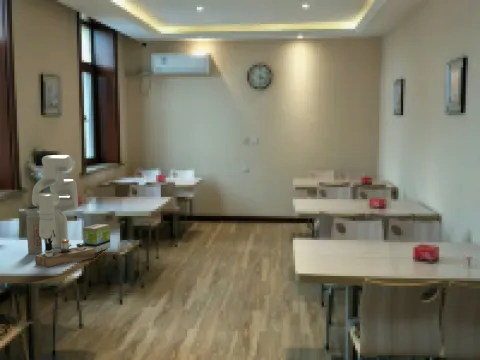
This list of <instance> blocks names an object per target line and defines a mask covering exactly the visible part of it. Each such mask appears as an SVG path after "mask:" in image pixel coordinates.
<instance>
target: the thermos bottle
mask: <svg viewBox="0 0 480 360" xmlns="http://www.w3.org/2000/svg"><path fill="white" fill-rule="evenodd" d="M26 215H27V216H26V217H25V218H26V219H25V220H26V222H25V223H26V236H27V253H28V255H40V254H43V238H42V237H40V236H39V222H40V211H38V206H34V205H33V206H28V211H27V213H26ZM39 253H40V254H39Z"/></svg>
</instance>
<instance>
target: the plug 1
mask: <svg viewBox="0 0 480 360" xmlns="http://www.w3.org/2000/svg"><path fill="white" fill-rule="evenodd" d="M43 252H44V254H45V257H50V256H53V252H54V248H52V250H49V251H46V250H45V249H44V251H43Z"/></svg>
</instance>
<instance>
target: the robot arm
mask: <svg viewBox="0 0 480 360" xmlns="http://www.w3.org/2000/svg"><path fill="white" fill-rule="evenodd" d="M41 163H42V177H41V179H39V180H38V181H37V182H36V183H35V184H34V185H33V189H32V195H31V203H32V205H33V206H36V207H38V208H39V211H38V212H39V215H40V222H39V236H40V237H42V240H43V241H44V247H45V249H44V250H46V251H49V250H52V249H57V248H58V249H59V248H60V249H61V241H60V240H63V239H69V235H68V234H69V233H68V232H69V231H68V218H67V216H66V214H65V213H64V212H72V211H73V212H74V211H77V210H78V208H79V198H78V196H79V195H78V186H77V185H78V184H77V182H76V180H74V179H71V178H70V179H69V178H67V179H65V178H64V172H68V171H70V170H71V169H72V166H73V157H72V156H71V155H68V154H65V155H63V154H62V155H61V154H59V155H58V154H57V155H55V154H54V155H50V154H49V155H45V156H43V157H42V158H41ZM48 188H49V190H50V192H42V190H44V189H48ZM70 246H72V243H71V242H69V247H70Z"/></svg>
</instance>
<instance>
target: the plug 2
mask: <svg viewBox="0 0 480 360" xmlns="http://www.w3.org/2000/svg"><path fill="white" fill-rule="evenodd" d="M84 246H85V244H84V243H83V242H82V243H81V242H80V243H79V242H78V243H77V244H76V247H77V250H84Z"/></svg>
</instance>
